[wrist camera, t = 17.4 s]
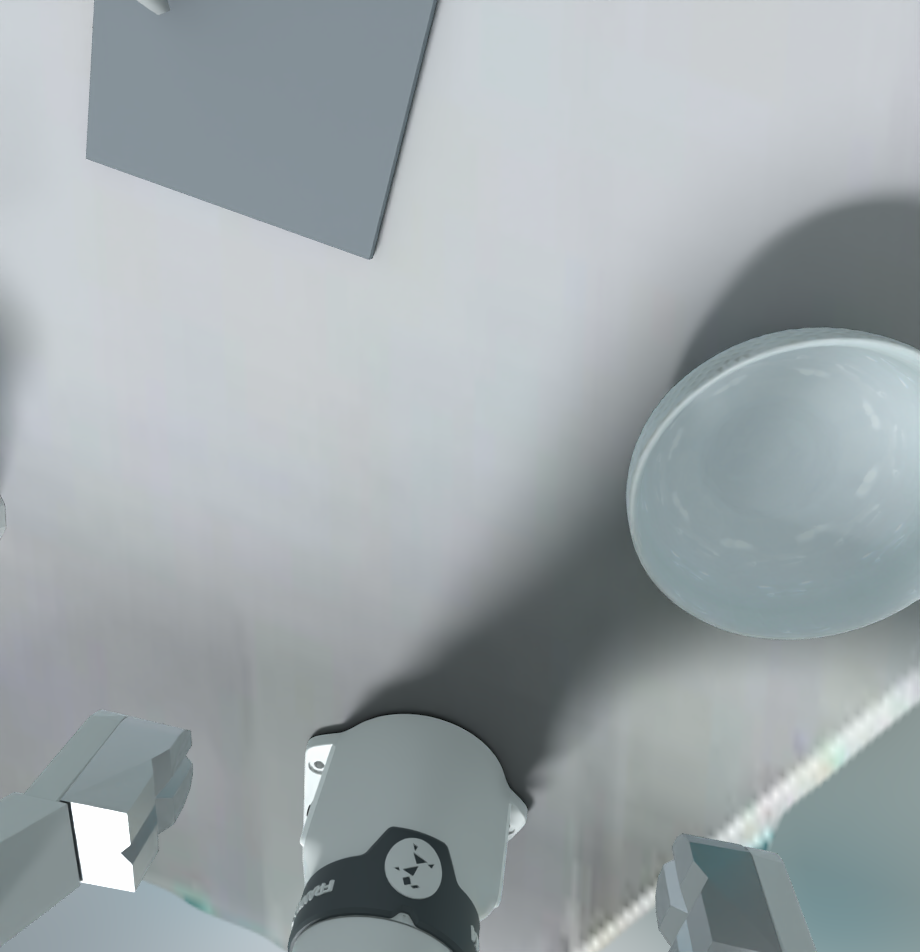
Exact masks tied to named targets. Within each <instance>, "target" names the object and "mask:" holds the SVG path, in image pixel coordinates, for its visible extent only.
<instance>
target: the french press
mask: <svg viewBox="0 0 920 952" xmlns="http://www.w3.org/2000/svg"><path fill="white" fill-rule="evenodd" d="M5 529H6V517H5V504H4V502H3V500H2V498H1V496H0V539H1V537H2V535H3V533H4V531H5Z"/></svg>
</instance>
